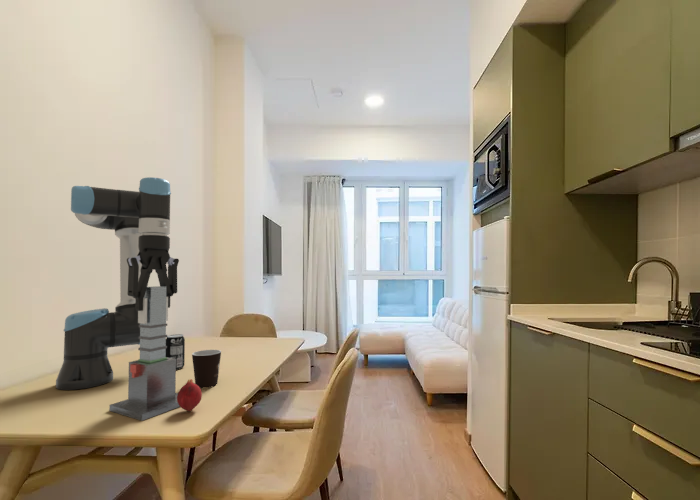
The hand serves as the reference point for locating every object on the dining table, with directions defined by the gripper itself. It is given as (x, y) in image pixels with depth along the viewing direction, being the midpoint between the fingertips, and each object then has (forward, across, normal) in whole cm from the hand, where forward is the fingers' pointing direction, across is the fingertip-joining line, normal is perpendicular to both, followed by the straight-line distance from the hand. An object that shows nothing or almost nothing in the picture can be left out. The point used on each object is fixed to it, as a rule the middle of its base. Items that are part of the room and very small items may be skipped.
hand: (153, 321), depth 99 cm
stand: (+22, 0, 0) cm, 22 cm away
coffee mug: (+22, +21, +3) cm, 31 cm away
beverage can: (+22, +28, +30) cm, 47 cm away
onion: (+22, +2, -12) cm, 26 cm away
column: (+13, 0, 0) cm, 13 cm away
